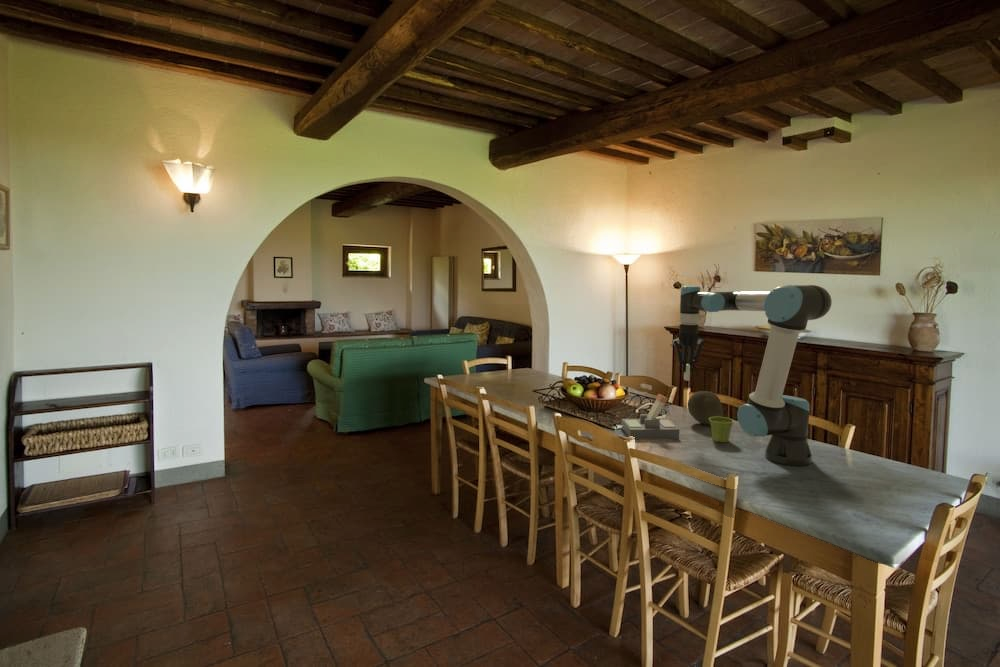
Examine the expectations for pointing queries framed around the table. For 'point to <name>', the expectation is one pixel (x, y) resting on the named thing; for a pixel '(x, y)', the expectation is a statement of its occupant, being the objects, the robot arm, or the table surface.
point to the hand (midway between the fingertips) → (686, 379)
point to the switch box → (650, 428)
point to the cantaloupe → (704, 406)
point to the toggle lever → (657, 407)
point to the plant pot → (721, 428)
